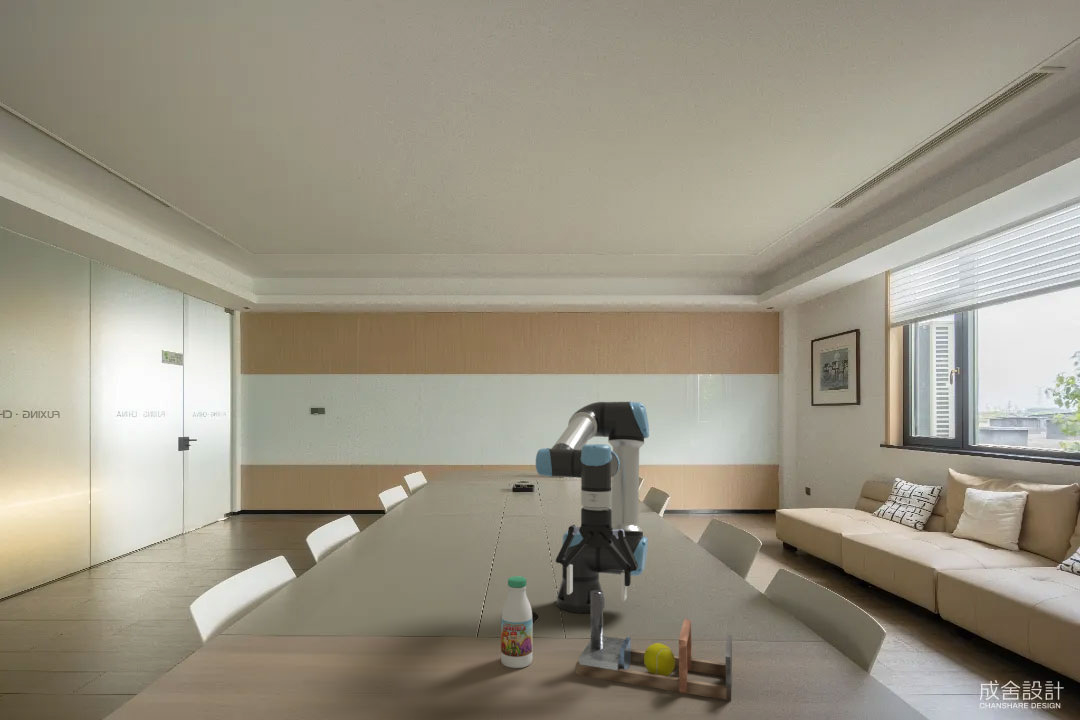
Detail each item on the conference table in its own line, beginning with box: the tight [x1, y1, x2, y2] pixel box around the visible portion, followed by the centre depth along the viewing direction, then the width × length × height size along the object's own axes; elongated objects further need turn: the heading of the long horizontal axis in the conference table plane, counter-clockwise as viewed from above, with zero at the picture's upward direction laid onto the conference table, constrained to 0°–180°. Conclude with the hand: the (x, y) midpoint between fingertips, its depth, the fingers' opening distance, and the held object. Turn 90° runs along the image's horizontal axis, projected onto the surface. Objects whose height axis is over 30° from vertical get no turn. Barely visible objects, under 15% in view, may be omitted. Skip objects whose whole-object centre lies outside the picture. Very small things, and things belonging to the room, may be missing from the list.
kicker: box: [578, 590, 632, 670], centre depth 138 cm, size 10×14×17 cm
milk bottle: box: [500, 575, 533, 669], centre depth 140 cm, size 8×8×20 cm
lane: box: [575, 619, 733, 701], centre depth 133 cm, size 34×13×11 cm, turn 70°
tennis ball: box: [643, 642, 675, 676], centre depth 133 cm, size 7×7×7 cm
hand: (596, 596), depth 139 cm, fingers open, 13 cm apart
